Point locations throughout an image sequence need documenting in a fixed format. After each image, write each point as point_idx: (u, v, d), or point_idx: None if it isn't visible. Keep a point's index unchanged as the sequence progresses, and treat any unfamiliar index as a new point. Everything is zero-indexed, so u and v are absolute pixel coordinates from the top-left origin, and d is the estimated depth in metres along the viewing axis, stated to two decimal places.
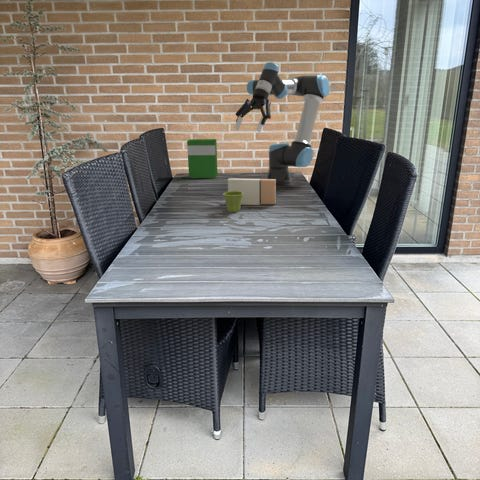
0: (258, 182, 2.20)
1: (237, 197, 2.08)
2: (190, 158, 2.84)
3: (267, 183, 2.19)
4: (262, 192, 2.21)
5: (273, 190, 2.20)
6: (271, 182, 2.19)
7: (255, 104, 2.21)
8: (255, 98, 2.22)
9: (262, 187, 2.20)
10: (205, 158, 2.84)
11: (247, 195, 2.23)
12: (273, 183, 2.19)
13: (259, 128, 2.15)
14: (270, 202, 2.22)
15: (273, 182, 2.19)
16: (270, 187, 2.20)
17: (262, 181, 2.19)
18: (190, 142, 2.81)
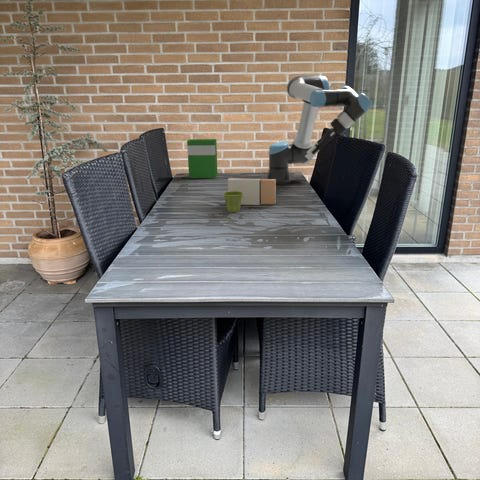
0: (258, 182, 2.20)
1: (237, 197, 2.08)
2: (190, 158, 2.84)
3: (267, 183, 2.19)
4: (262, 192, 2.21)
5: (273, 190, 2.20)
6: (271, 182, 2.19)
7: None
8: None
9: (262, 187, 2.20)
10: (205, 158, 2.84)
11: (247, 195, 2.23)
12: (273, 183, 2.19)
13: None
14: (270, 202, 2.22)
15: (273, 182, 2.19)
16: (270, 187, 2.20)
17: (262, 181, 2.19)
18: (190, 142, 2.81)
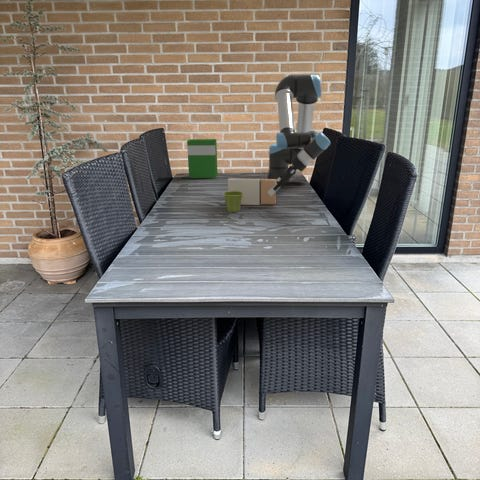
0: (258, 182, 2.20)
1: (237, 197, 2.08)
2: (190, 158, 2.84)
3: (267, 183, 2.19)
4: (262, 192, 2.21)
5: None
6: (271, 182, 2.19)
7: None
8: None
9: (262, 187, 2.20)
10: (205, 158, 2.84)
11: (247, 195, 2.23)
12: (273, 183, 2.19)
13: None
14: (270, 202, 2.22)
15: (273, 182, 2.19)
16: (270, 187, 2.20)
17: (262, 181, 2.19)
18: (190, 142, 2.81)
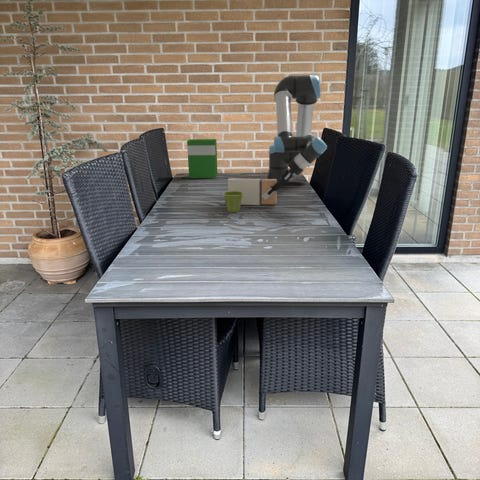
0: (258, 182, 2.20)
1: (237, 197, 2.08)
2: (190, 158, 2.84)
3: (268, 183, 2.19)
4: (263, 192, 2.21)
5: None
6: (272, 182, 2.19)
7: None
8: (294, 172, 2.14)
9: (263, 187, 2.20)
10: (205, 158, 2.84)
11: (247, 195, 2.23)
12: (274, 183, 2.19)
13: None
14: (271, 202, 2.22)
15: (274, 182, 2.18)
16: None
17: (263, 181, 2.19)
18: (190, 142, 2.81)
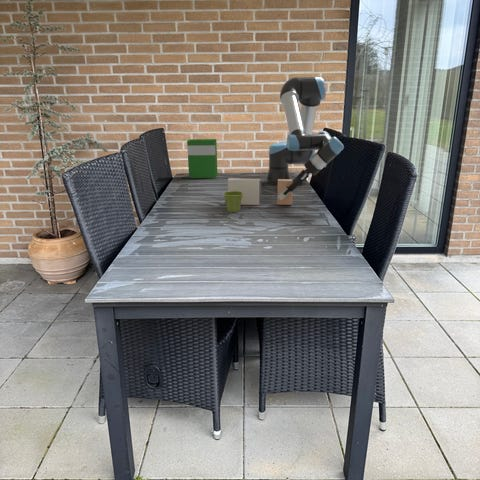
0: (258, 182, 2.20)
1: (237, 197, 2.08)
2: (190, 158, 2.84)
3: (284, 183, 2.18)
4: (279, 192, 2.20)
5: None
6: (288, 183, 2.17)
7: None
8: (310, 172, 2.13)
9: (279, 187, 2.19)
10: (205, 158, 2.84)
11: (247, 195, 2.23)
12: (290, 184, 2.17)
13: None
14: (287, 202, 2.21)
15: (290, 182, 2.17)
16: None
17: (279, 181, 2.18)
18: (190, 142, 2.81)
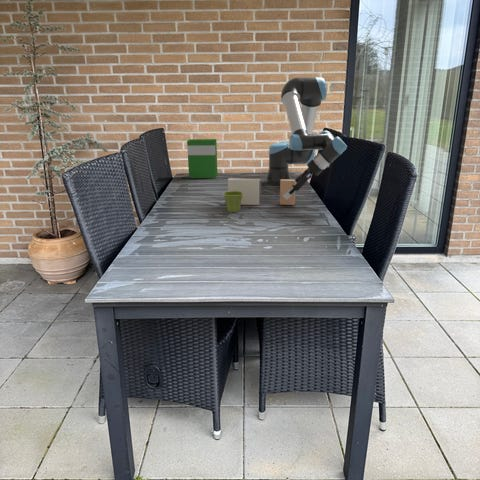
0: (258, 182, 2.20)
1: (237, 197, 2.08)
2: (190, 158, 2.84)
3: (287, 183, 2.18)
4: (281, 192, 2.20)
5: None
6: (290, 183, 2.17)
7: None
8: None
9: (281, 187, 2.19)
10: (205, 158, 2.84)
11: (247, 195, 2.23)
12: (292, 184, 2.17)
13: None
14: (289, 203, 2.21)
15: (293, 182, 2.17)
16: (290, 187, 2.18)
17: (281, 181, 2.18)
18: (190, 142, 2.81)
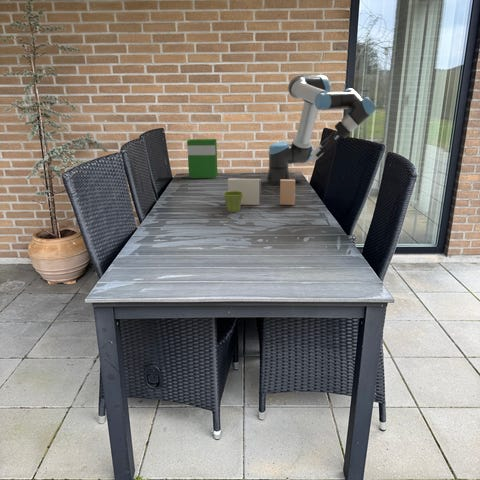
0: (258, 182, 2.20)
1: (237, 197, 2.08)
2: (190, 158, 2.84)
3: (287, 183, 2.18)
4: (281, 192, 2.20)
5: (293, 190, 2.18)
6: (290, 183, 2.17)
7: None
8: None
9: (281, 187, 2.19)
10: (205, 158, 2.84)
11: (247, 195, 2.23)
12: (292, 184, 2.17)
13: None
14: (289, 203, 2.21)
15: (293, 182, 2.17)
16: (290, 187, 2.18)
17: (281, 181, 2.18)
18: (190, 142, 2.81)
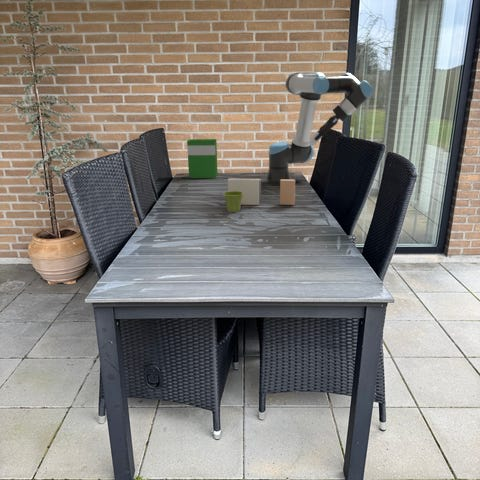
0: (258, 182, 2.20)
1: (237, 197, 2.08)
2: (190, 158, 2.84)
3: (287, 183, 2.18)
4: (281, 192, 2.20)
5: (293, 190, 2.18)
6: (290, 183, 2.17)
7: None
8: (338, 119, 2.09)
9: (281, 187, 2.19)
10: (205, 158, 2.84)
11: (247, 195, 2.23)
12: (292, 184, 2.17)
13: None
14: (289, 203, 2.21)
15: (293, 182, 2.17)
16: (290, 187, 2.18)
17: (281, 181, 2.18)
18: (190, 142, 2.81)
